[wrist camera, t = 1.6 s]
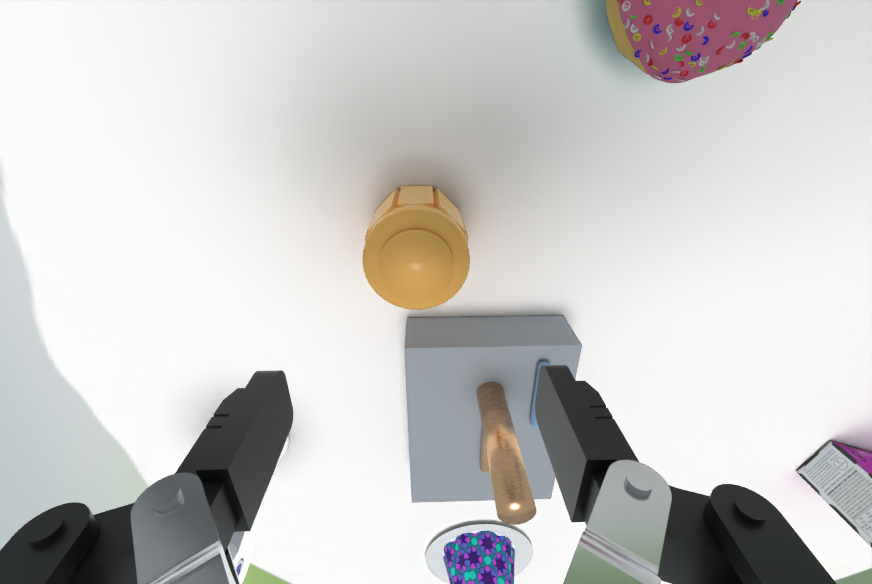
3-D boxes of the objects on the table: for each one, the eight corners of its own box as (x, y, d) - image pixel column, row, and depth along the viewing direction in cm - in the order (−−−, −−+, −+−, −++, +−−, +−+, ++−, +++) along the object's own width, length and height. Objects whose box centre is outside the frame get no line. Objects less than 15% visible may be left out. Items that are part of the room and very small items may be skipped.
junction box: (406, 317, 30) (403, 356, 25) (563, 315, 30) (587, 352, 26) (413, 462, 37) (411, 512, 33) (538, 459, 37) (553, 508, 33)
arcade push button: (371, 185, 25) (355, 215, 19) (461, 185, 25) (473, 214, 19) (378, 268, 28) (365, 317, 22) (459, 267, 28) (469, 315, 22)
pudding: (504, 503, 41) (515, 556, 36) (546, 560, 45) (560, 613, 41) (405, 539, 43) (403, 594, 38) (455, 589, 48) (459, 643, 43)
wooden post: (476, 382, 28) (498, 500, 20) (505, 381, 28) (538, 499, 20) (475, 403, 28) (496, 524, 20) (502, 402, 28) (533, 524, 20)
